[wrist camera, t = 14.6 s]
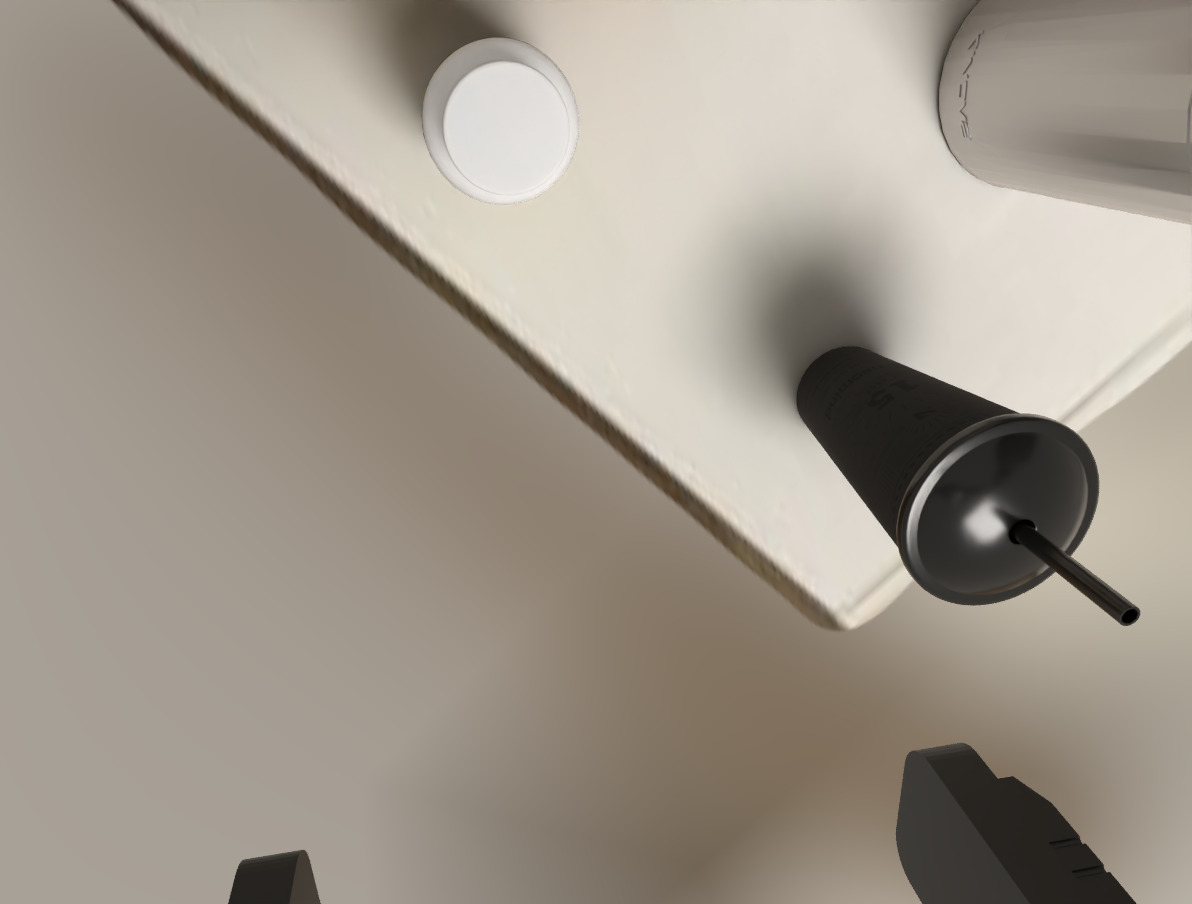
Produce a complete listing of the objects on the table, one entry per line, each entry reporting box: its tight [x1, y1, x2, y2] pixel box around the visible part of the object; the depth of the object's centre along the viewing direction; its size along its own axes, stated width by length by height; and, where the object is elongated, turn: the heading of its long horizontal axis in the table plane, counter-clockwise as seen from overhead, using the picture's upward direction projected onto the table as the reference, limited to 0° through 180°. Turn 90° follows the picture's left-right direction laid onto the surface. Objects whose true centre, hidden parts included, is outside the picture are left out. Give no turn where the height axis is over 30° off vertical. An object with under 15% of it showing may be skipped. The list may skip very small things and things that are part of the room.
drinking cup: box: [797, 346, 1140, 626], centre depth 34 cm, size 8×8×20 cm
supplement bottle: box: [422, 38, 579, 205], centre depth 31 cm, size 5×5×10 cm
